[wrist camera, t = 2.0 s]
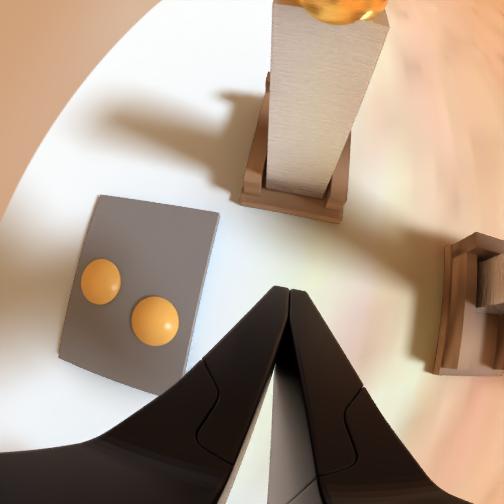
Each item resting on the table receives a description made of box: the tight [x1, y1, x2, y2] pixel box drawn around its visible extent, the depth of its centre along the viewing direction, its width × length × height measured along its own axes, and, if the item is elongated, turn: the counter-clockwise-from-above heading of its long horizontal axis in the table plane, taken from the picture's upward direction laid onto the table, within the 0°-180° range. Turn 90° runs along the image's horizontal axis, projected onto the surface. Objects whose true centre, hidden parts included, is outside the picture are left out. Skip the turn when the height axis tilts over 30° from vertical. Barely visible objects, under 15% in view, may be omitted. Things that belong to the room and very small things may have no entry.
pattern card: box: [58, 195, 220, 396], centre depth 19 cm, size 12×9×1 cm
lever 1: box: [266, 0, 390, 199], centre depth 12 cm, size 4×4×15 cm
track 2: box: [433, 232, 504, 376], centre depth 16 cm, size 9×7×4 cm
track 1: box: [240, 72, 351, 224], centre depth 20 cm, size 9×7×4 cm
